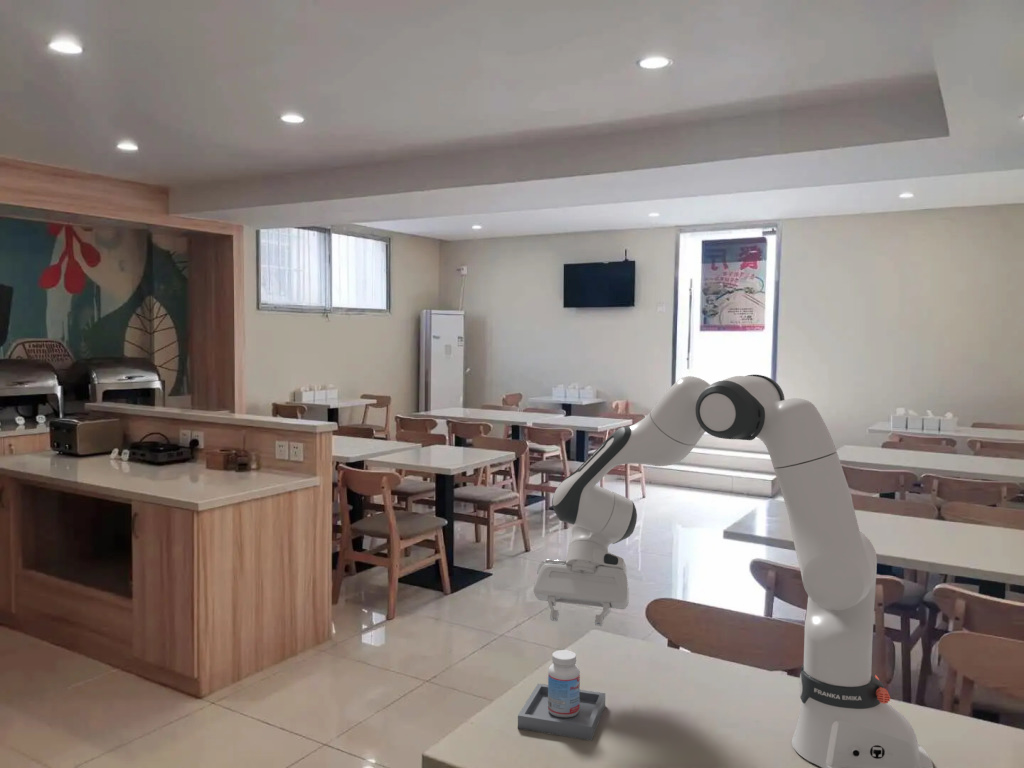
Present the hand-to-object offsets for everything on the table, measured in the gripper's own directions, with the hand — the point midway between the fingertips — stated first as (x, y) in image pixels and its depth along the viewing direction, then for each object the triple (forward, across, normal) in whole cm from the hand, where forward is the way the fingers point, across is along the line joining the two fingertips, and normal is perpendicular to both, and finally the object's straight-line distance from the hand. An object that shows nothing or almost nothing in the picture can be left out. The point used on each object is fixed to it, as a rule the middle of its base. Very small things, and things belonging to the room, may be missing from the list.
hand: (576, 622), depth 157 cm
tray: (+18, 0, +2) cm, 18 cm away
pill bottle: (+18, 0, +2) cm, 18 cm away
